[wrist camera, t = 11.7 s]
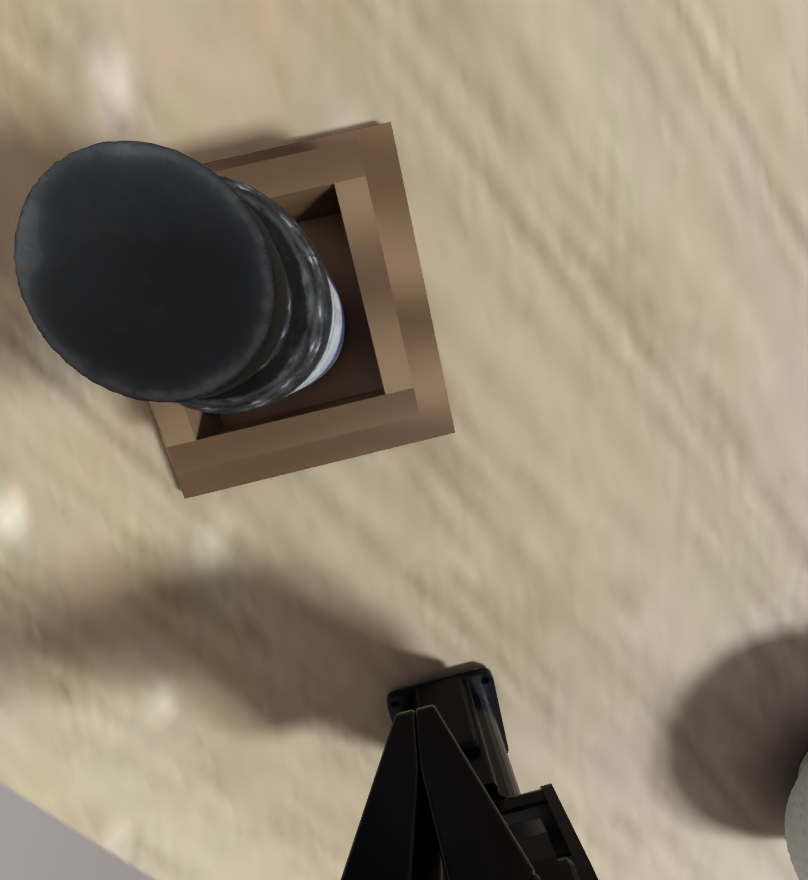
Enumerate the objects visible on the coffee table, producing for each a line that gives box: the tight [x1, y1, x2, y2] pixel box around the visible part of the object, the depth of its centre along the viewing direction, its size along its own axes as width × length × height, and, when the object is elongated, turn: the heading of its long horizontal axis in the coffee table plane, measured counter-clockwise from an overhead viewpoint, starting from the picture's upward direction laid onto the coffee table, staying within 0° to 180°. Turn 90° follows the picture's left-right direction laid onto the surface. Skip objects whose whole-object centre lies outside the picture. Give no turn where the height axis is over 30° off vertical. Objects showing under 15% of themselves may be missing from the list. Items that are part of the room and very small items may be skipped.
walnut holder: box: [147, 122, 455, 498], centre depth 17 cm, size 14×14×4 cm
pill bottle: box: [14, 141, 347, 414], centre depth 13 cm, size 6×6×11 cm
